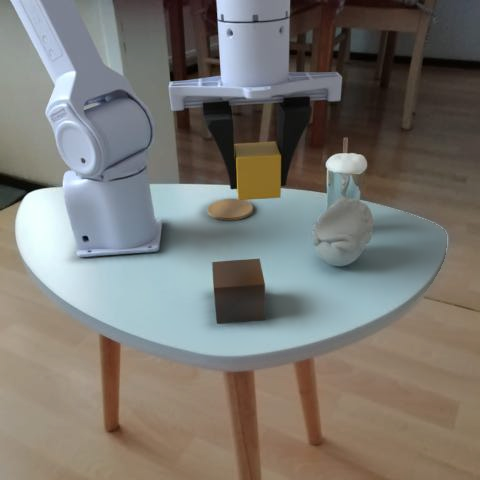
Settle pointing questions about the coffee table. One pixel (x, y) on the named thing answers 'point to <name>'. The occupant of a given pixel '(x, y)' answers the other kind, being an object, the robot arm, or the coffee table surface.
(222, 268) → the walnut block
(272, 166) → the top cube
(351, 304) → the coffee table surface
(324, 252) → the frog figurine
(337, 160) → the milkshake
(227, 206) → the cork coaster
